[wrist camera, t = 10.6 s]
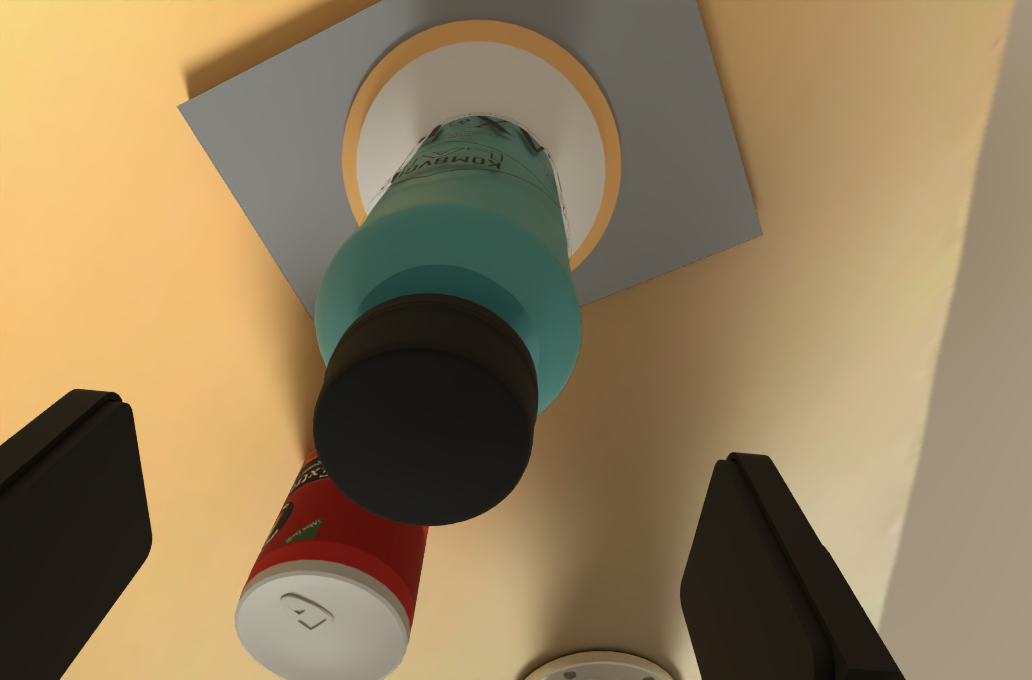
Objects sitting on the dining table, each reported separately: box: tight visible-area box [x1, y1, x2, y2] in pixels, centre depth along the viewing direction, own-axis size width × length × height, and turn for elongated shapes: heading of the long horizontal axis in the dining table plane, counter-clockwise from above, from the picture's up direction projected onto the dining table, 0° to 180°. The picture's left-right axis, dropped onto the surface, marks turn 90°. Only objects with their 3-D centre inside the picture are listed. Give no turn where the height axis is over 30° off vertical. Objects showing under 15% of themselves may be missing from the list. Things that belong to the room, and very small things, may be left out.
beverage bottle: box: [313, 112, 582, 526], centre depth 20 cm, size 6×7×20 cm
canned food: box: [235, 448, 429, 680], centre depth 34 cm, size 8×8×11 cm
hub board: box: [177, 0, 763, 323], centre depth 30 cm, size 16×22×2 cm
